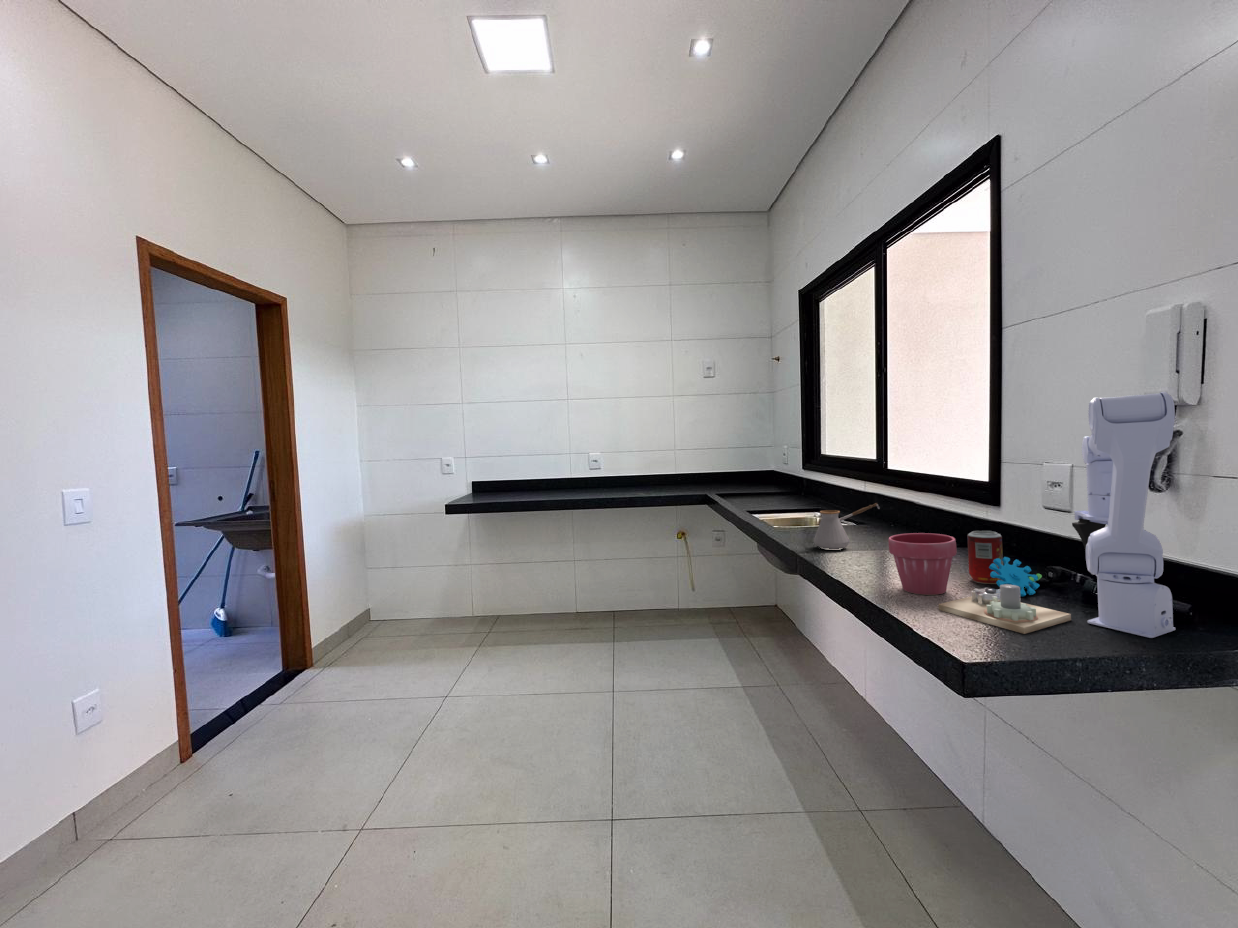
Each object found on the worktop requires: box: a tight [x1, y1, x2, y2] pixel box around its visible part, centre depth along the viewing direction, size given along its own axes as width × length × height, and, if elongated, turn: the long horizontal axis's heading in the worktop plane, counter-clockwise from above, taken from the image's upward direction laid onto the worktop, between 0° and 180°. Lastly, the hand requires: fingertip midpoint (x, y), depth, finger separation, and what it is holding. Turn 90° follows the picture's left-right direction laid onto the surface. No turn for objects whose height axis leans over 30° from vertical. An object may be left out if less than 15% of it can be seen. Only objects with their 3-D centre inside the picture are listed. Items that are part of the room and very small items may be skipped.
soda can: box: [966, 530, 1004, 585], centre depth 131 cm, size 7×7×12 cm
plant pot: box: [888, 532, 958, 596], centre depth 127 cm, size 14×14×13 cm
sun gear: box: [970, 587, 1001, 605], centre depth 113 cm, size 7×7×3 cm
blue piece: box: [989, 556, 1043, 597], centre depth 123 cm, size 11×6×10 cm
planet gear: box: [987, 584, 1036, 621], centre depth 104 cm, size 8×8×6 cm
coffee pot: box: [813, 502, 881, 549], centre depth 178 cm, size 21×12×15 cm, turn 78°
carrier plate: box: [938, 595, 1072, 635], centre depth 108 cm, size 17×14×1 cm
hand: (1108, 559), depth 109 cm, fingers open, 7 cm apart
